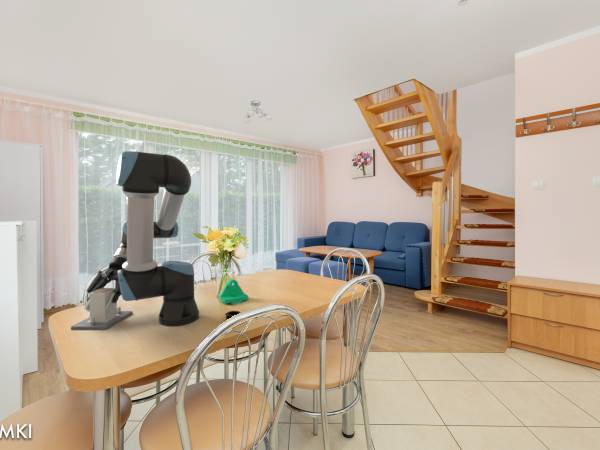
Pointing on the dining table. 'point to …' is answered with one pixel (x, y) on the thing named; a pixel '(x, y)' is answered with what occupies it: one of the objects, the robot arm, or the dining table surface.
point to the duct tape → (231, 314)
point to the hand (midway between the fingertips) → (97, 309)
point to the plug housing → (101, 304)
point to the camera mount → (232, 293)
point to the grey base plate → (102, 324)
